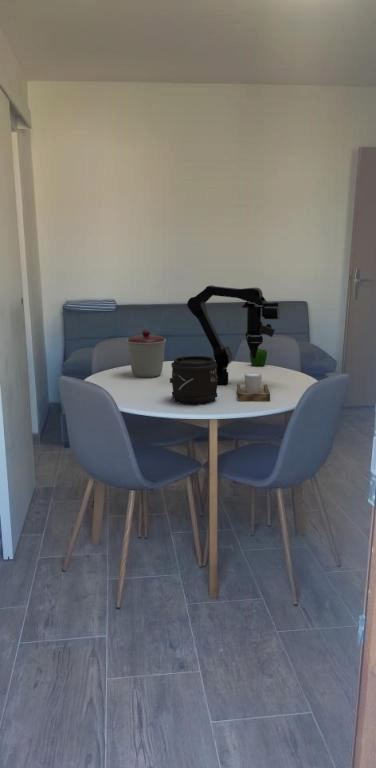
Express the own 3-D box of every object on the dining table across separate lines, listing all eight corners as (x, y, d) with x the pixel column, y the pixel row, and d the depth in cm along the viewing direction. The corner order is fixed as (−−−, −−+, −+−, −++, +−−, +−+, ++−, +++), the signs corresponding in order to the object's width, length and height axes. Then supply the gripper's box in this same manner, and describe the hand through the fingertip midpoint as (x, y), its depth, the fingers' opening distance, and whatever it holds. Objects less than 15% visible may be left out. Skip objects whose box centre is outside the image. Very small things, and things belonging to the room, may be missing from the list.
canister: (151, 381, 257) (150, 333, 253) (119, 377, 267) (117, 330, 262) (174, 374, 272) (173, 328, 268) (142, 370, 282) (141, 326, 277)
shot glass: (260, 394, 228) (260, 376, 226) (242, 393, 230) (243, 375, 228) (262, 390, 235) (262, 372, 233) (245, 389, 236) (245, 372, 234)
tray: (238, 401, 223) (238, 393, 222) (236, 391, 238) (236, 384, 238) (270, 401, 222) (270, 394, 222) (266, 391, 238) (266, 384, 237)
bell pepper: (264, 363, 295) (265, 344, 292) (268, 367, 287) (268, 346, 284) (248, 364, 294) (248, 344, 292) (250, 367, 286) (251, 347, 284)
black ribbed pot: (169, 394, 234) (168, 355, 230) (214, 393, 235) (214, 354, 231) (171, 406, 216) (170, 364, 213) (219, 405, 217) (219, 363, 214)
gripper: (275, 321, 232) (275, 360, 235) (271, 316, 250) (270, 352, 254) (247, 321, 233) (247, 360, 236) (245, 316, 251) (244, 352, 254)
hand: (253, 356), depth 245 cm, fingers open, 9 cm apart
